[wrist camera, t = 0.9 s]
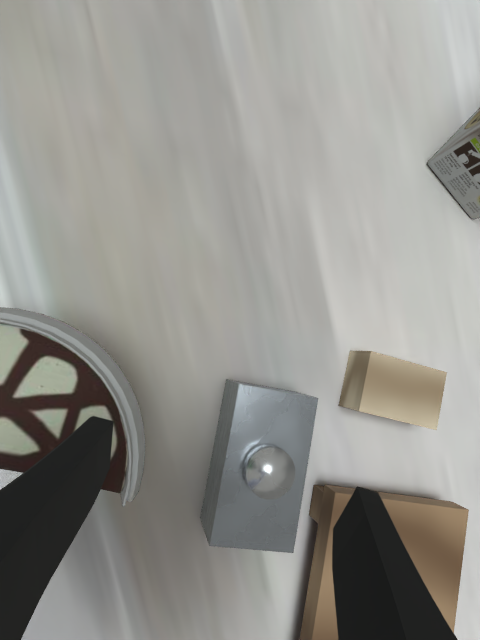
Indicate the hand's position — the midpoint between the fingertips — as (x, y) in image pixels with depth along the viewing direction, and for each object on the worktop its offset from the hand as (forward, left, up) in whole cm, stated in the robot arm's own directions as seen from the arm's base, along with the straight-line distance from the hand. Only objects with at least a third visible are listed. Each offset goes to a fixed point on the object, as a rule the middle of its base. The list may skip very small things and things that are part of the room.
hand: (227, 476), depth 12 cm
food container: (+1, +8, -15) cm, 17 cm away
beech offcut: (+4, -14, -15) cm, 21 cm away
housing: (-2, -5, -15) cm, 16 cm away
